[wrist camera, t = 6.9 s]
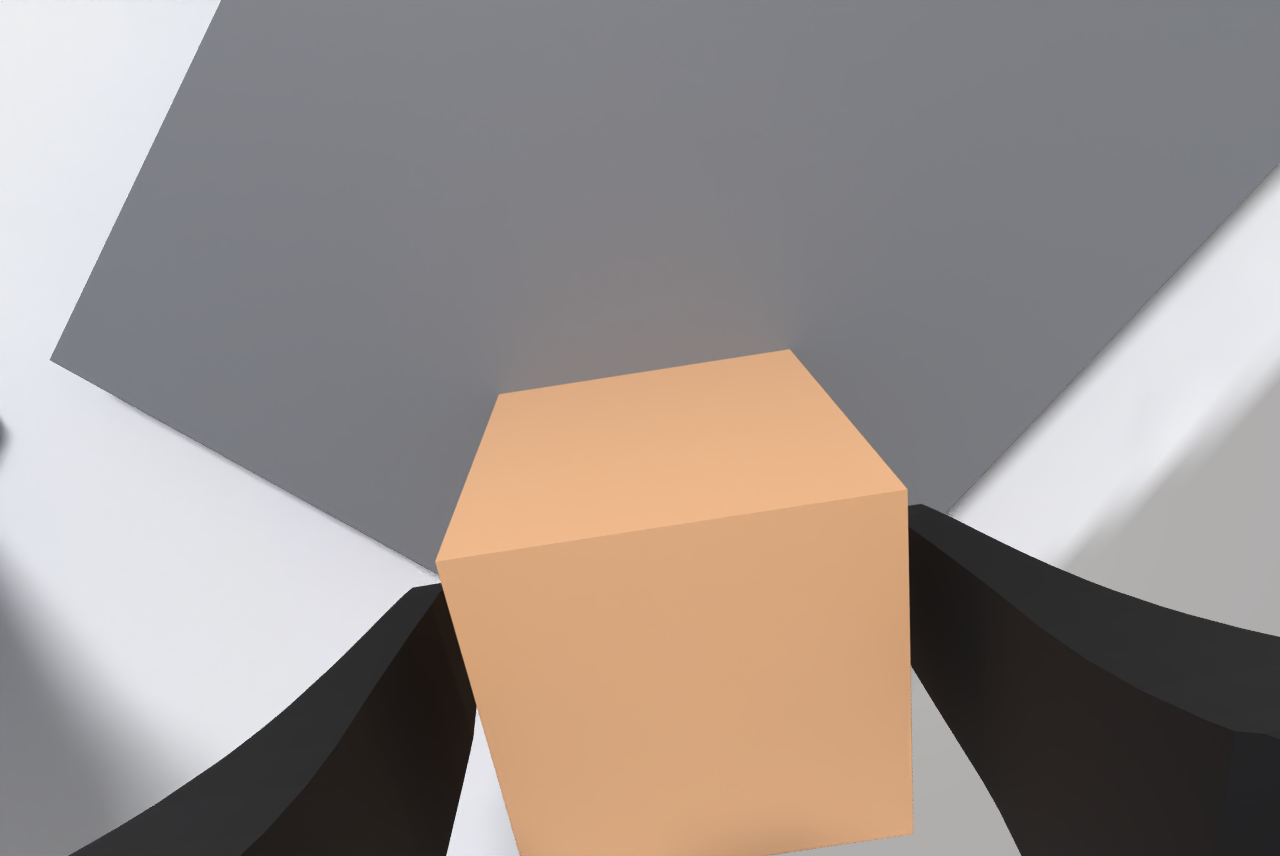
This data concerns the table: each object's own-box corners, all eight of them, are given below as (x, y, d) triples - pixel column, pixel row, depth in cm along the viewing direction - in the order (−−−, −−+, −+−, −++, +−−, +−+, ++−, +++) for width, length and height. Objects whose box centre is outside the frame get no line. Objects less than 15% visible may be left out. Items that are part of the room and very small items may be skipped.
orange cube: (808, 595, 17) (913, 833, 11) (554, 633, 17) (530, 891, 11) (790, 349, 14) (908, 489, 9) (498, 394, 15) (434, 561, 9)
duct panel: (726, 706, 19) (766, 896, 14) (84, 345, 15) (-152, 445, 10) (1333, 55, 14) (1699, 19, 9) (620, -753, 10) (638, -1524, 5)
